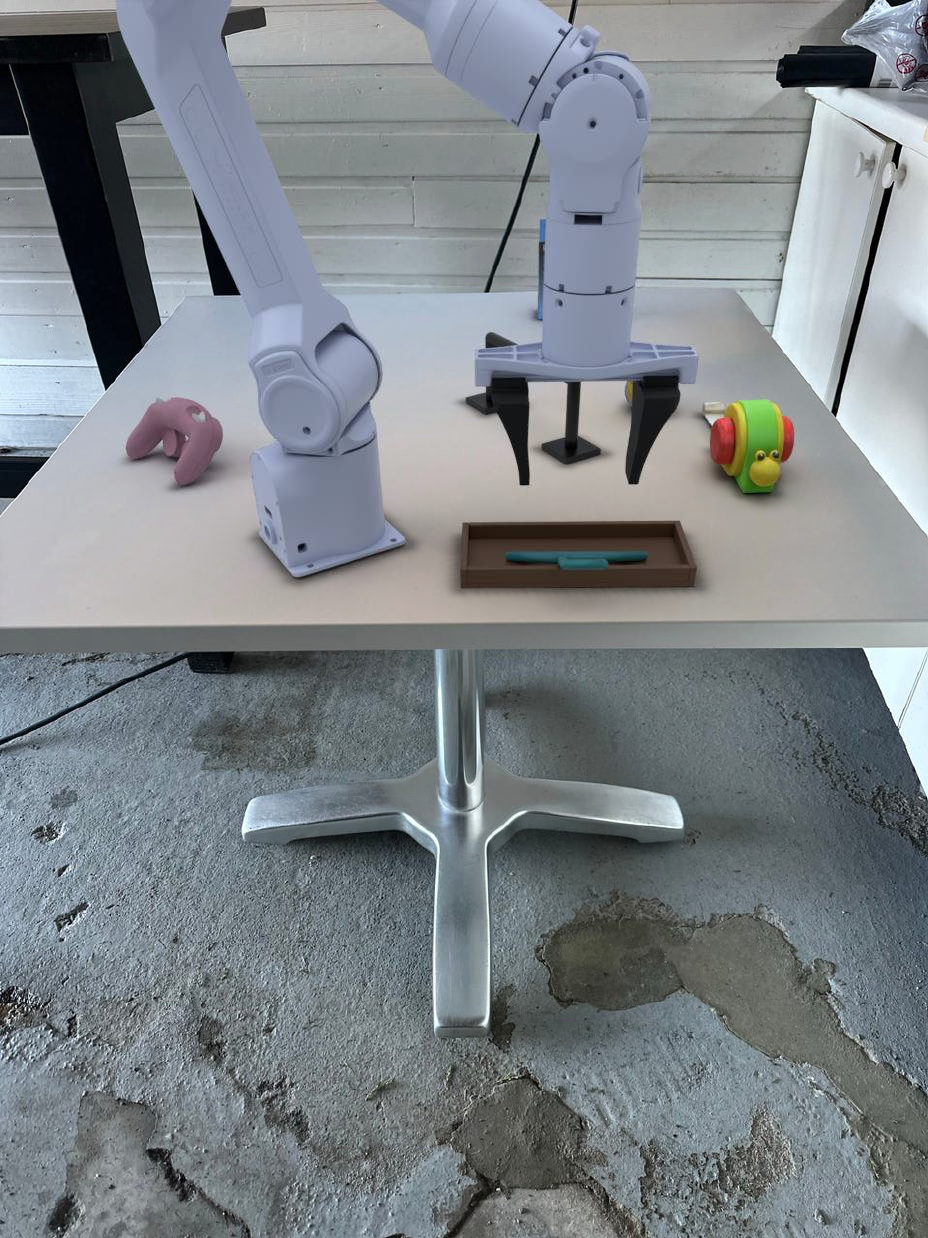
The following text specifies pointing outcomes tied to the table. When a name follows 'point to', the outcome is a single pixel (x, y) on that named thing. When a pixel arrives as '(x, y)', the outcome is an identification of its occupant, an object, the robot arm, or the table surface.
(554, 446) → the rail
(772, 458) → the toy measuring tape
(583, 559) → the hanger
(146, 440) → the video game controller
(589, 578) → the tray
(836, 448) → the table surface
